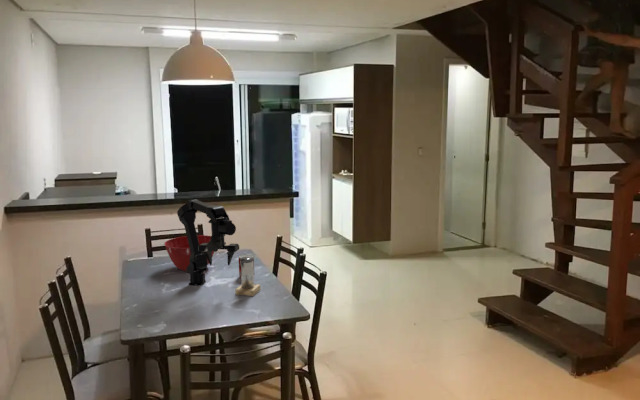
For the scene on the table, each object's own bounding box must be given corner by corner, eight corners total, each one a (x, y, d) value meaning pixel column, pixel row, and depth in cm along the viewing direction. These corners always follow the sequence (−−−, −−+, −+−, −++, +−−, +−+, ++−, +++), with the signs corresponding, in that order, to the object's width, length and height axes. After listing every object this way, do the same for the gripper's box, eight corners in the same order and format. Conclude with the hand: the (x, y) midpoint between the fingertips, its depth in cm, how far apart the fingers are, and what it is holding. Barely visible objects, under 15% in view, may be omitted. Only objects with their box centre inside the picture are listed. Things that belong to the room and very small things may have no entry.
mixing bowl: (164, 277, 272) (162, 248, 269) (167, 262, 299) (165, 236, 296) (219, 273, 278) (218, 245, 276) (217, 259, 305) (215, 233, 303)
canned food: (251, 279, 267) (251, 258, 265) (237, 278, 269) (236, 258, 267) (256, 274, 275) (255, 254, 273) (242, 274, 276) (241, 254, 274)
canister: (241, 289, 244) (240, 260, 242) (241, 285, 250) (240, 257, 248) (254, 288, 245) (253, 259, 243) (254, 284, 251) (253, 256, 249)
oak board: (235, 294, 245) (235, 289, 245) (243, 288, 254) (243, 283, 253) (253, 295, 243) (253, 290, 242) (260, 289, 251) (260, 284, 251)
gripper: (191, 236, 239) (194, 269, 241) (229, 236, 234) (231, 270, 237) (202, 231, 250) (204, 262, 252) (238, 231, 245) (240, 263, 247)
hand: (219, 265), depth 247 cm, fingers open, 9 cm apart
